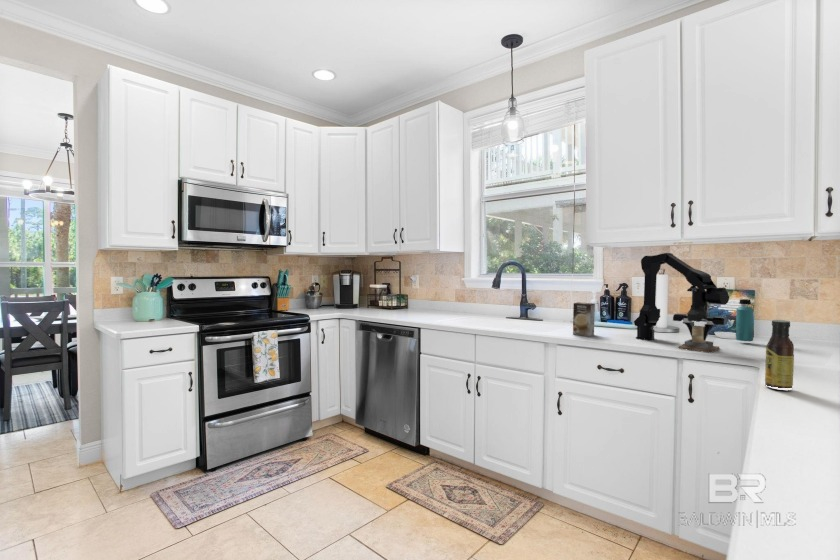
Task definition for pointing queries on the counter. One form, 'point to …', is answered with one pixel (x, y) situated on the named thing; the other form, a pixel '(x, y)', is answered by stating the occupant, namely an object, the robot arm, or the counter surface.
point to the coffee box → (583, 318)
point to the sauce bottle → (779, 356)
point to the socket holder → (698, 346)
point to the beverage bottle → (744, 322)
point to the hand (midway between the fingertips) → (698, 339)
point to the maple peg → (698, 334)
